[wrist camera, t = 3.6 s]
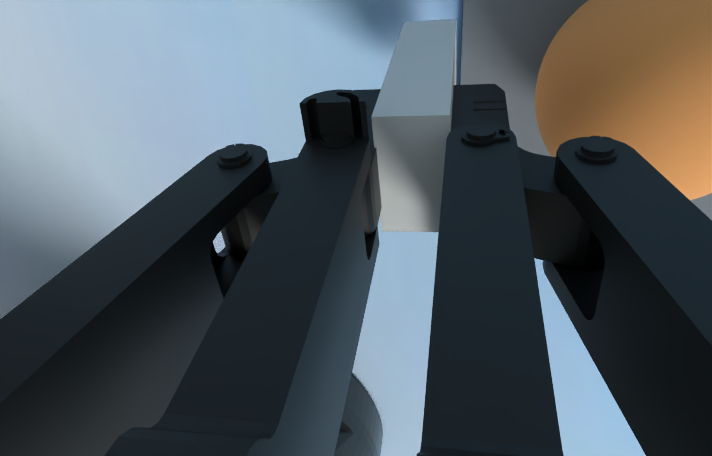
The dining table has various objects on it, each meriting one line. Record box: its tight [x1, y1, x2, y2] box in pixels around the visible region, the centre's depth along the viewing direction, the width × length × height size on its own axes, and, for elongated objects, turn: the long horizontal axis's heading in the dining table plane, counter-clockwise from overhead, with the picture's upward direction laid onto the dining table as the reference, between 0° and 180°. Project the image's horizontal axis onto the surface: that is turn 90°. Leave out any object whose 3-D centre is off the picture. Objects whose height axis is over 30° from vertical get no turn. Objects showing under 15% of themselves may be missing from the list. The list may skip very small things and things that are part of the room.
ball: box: [535, 0, 712, 200], centre depth 14 cm, size 6×6×6 cm
